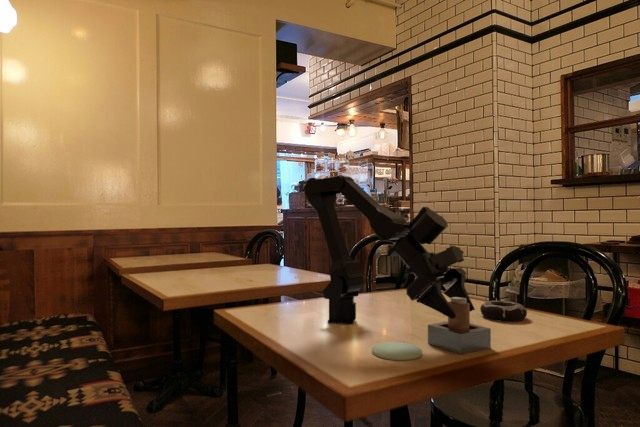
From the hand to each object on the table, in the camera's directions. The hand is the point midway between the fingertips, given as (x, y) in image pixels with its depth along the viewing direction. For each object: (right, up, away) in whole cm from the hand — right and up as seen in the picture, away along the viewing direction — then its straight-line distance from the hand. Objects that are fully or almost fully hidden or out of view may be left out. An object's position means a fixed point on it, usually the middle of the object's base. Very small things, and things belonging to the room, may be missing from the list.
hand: (463, 313), depth 92 cm
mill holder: (-1, -7, +1) cm, 7 cm away
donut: (+20, -8, +27) cm, 34 cm away
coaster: (-15, -7, -4) cm, 17 cm away
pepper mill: (-1, -7, +1) cm, 7 cm away
